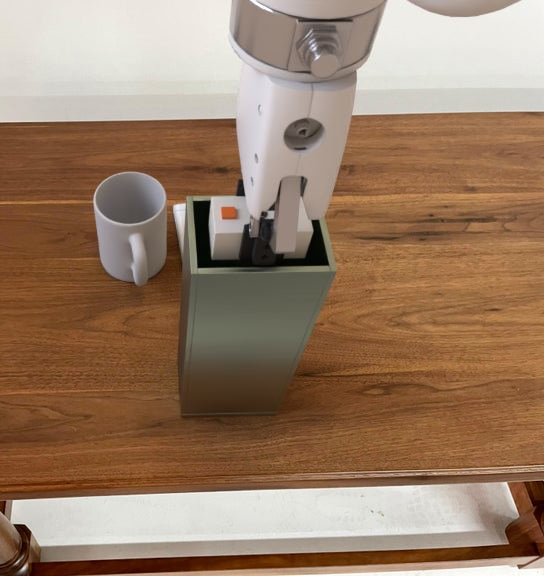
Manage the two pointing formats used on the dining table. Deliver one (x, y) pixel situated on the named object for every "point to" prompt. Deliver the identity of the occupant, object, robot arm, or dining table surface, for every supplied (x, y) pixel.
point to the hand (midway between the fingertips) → (256, 237)
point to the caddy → (244, 321)
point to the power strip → (230, 224)
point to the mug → (131, 226)
